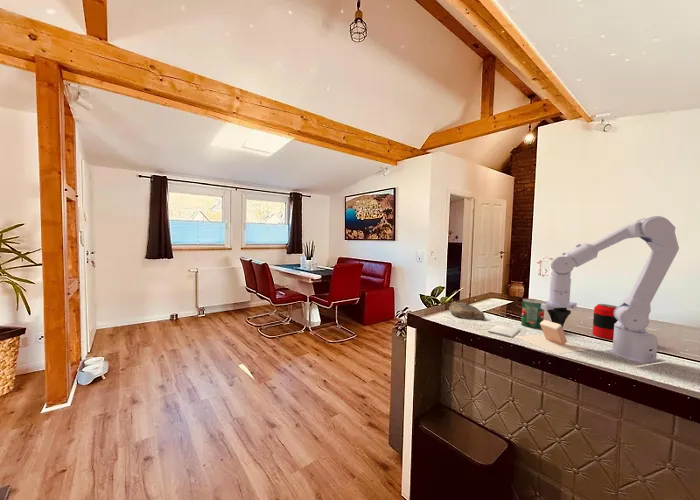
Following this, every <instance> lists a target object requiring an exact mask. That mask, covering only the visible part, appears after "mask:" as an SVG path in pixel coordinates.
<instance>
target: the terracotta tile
mask: <svg viewBox="0 0 700 500" xmlns="http://www.w3.org/2000/svg"><path fill="white" fill-rule="evenodd" d="M540 325H541V328H542V329H541V331H542V334H544V336H545V338H546V340H549V341H552V342H555V343H557V344H560V345H564V344H565V343H566V342H567V343H568V340H567V337H566V333H565V332H564V329H563V328H562V326H561V324H557V323H554V322H552V321H550V320H547V319H544V320H543V321H542V322H541V323H540Z"/></svg>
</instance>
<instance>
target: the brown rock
mask: <svg viewBox="0 0 700 500" xmlns="http://www.w3.org/2000/svg"><path fill="white" fill-rule="evenodd" d="M448 311H449V313H450V314H452V315H453V316H454V317H457V318H460V319H466V320H469V319H470V320H471V319H472V320H481V321H482V320H484V319H485V313H484V312H483V311H482V310H479V309H478V308H477V307H476V306H474V305H471V304H470V303H467V302H463V301H461V302H460V301H457V302H451V303H450V304H449V307H448Z"/></svg>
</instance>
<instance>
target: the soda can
mask: <svg viewBox="0 0 700 500" xmlns="http://www.w3.org/2000/svg"><path fill="white" fill-rule="evenodd" d="M617 307H618V306H616V305H613V304H605V303H598V304H596V305H595V306H594V308H593V319H592V320H593V321H592V334H593V336H595V337H597V338H601V339H604V340H605V339H606V340H610V339H611V340H612V341H613V336H614V324H615V323H616V322H617V321H618V320H617V319H616V318H615V316H614V310H615V309H616V308H617Z"/></svg>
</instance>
